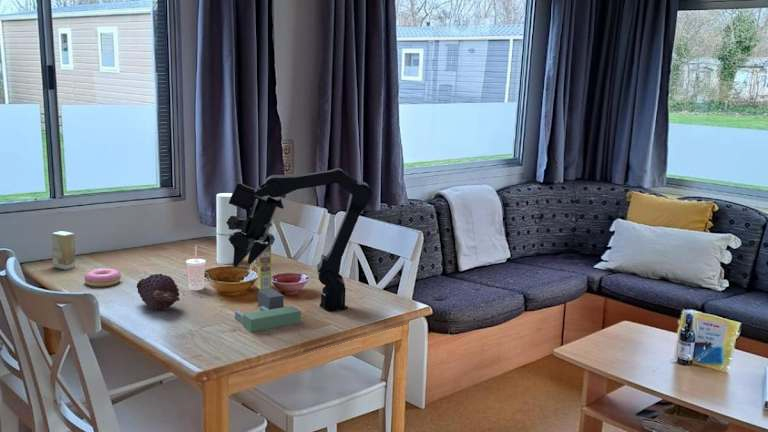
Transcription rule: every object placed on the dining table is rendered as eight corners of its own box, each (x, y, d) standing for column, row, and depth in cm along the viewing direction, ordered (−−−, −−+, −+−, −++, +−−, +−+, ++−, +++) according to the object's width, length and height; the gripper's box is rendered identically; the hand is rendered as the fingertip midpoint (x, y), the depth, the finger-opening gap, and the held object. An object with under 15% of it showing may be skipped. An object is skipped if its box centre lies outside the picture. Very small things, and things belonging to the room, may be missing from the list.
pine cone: (125, 304, 198) (124, 271, 196) (155, 297, 205) (154, 265, 203) (162, 318, 187) (161, 284, 185) (191, 310, 195) (191, 277, 193)
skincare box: (52, 267, 231) (50, 232, 229) (62, 264, 235) (60, 230, 233) (66, 270, 229) (64, 235, 227) (76, 267, 233) (75, 232, 231)
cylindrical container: (240, 261, 250) (240, 194, 245) (226, 265, 244) (226, 197, 239) (226, 258, 253) (226, 192, 249) (212, 261, 247) (212, 194, 243)
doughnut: (76, 284, 215) (76, 271, 214) (105, 276, 224) (104, 264, 224) (100, 290, 210) (100, 277, 209) (128, 282, 220) (128, 269, 219)
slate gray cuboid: (271, 304, 204) (271, 288, 203) (283, 311, 198) (283, 295, 197) (257, 306, 202) (257, 290, 201) (269, 314, 195) (269, 297, 194)
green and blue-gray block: (281, 310, 198) (281, 298, 198) (300, 322, 189) (300, 310, 188) (233, 318, 190) (233, 306, 189) (250, 332, 180) (250, 319, 180)
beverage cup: (209, 288, 216) (209, 246, 213) (193, 292, 212) (192, 248, 209) (199, 284, 220) (199, 242, 217) (182, 287, 216) (182, 245, 213)
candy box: (271, 288, 219) (272, 242, 216) (259, 290, 216) (259, 244, 213) (260, 281, 226) (261, 237, 223) (248, 283, 224) (249, 238, 221)
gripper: (252, 204, 205) (233, 250, 207) (223, 205, 187) (203, 256, 189) (283, 219, 203) (264, 266, 205) (257, 222, 185) (236, 273, 187)
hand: (242, 265), depth 197 cm, fingers open, 9 cm apart
